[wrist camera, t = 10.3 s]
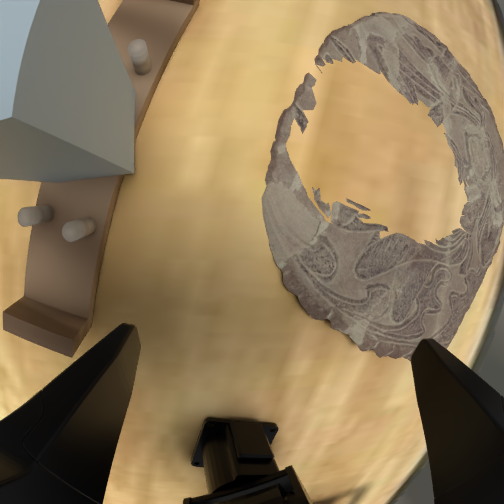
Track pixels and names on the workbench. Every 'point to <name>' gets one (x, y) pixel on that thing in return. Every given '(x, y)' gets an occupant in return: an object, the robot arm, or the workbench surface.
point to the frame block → (62, 93)
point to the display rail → (89, 196)
